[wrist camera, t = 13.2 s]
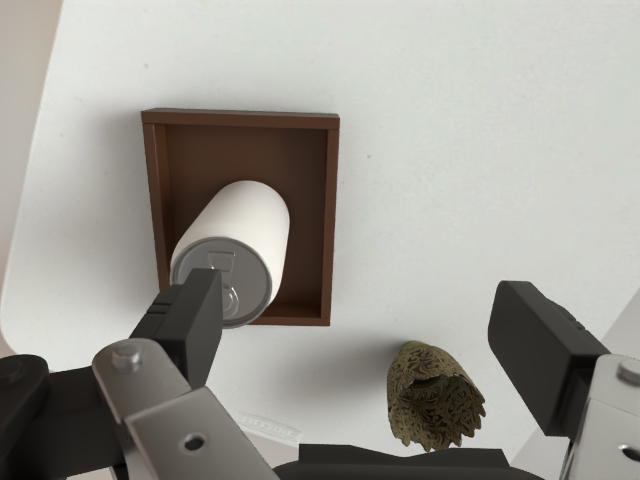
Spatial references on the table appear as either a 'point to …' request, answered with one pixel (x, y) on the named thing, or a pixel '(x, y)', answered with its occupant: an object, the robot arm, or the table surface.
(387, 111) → the table surface
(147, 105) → the table surface
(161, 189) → the tray
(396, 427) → the cup
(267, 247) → the can
